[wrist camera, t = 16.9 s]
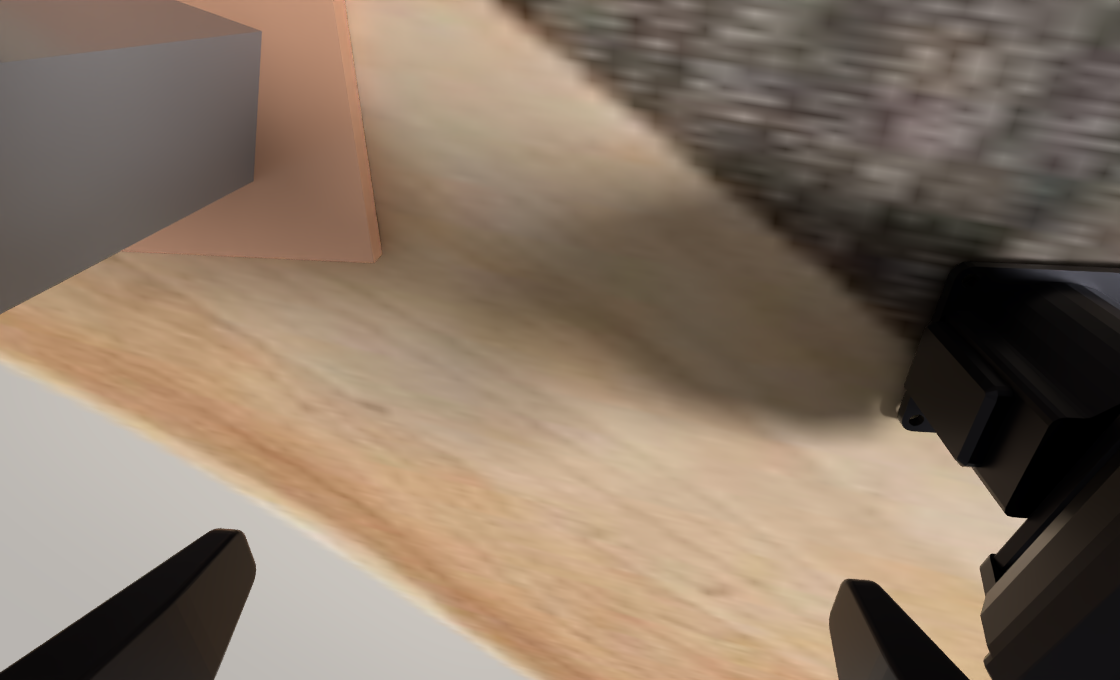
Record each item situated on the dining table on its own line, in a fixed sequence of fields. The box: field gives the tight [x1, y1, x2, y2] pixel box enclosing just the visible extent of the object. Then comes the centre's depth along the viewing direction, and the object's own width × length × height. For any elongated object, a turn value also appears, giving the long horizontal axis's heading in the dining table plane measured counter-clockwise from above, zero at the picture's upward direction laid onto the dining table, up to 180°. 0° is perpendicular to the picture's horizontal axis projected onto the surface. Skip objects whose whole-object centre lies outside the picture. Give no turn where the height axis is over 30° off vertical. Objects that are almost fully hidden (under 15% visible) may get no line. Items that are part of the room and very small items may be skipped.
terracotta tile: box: [122, 0, 382, 263], centre depth 18 cm, size 10×11×1 cm
